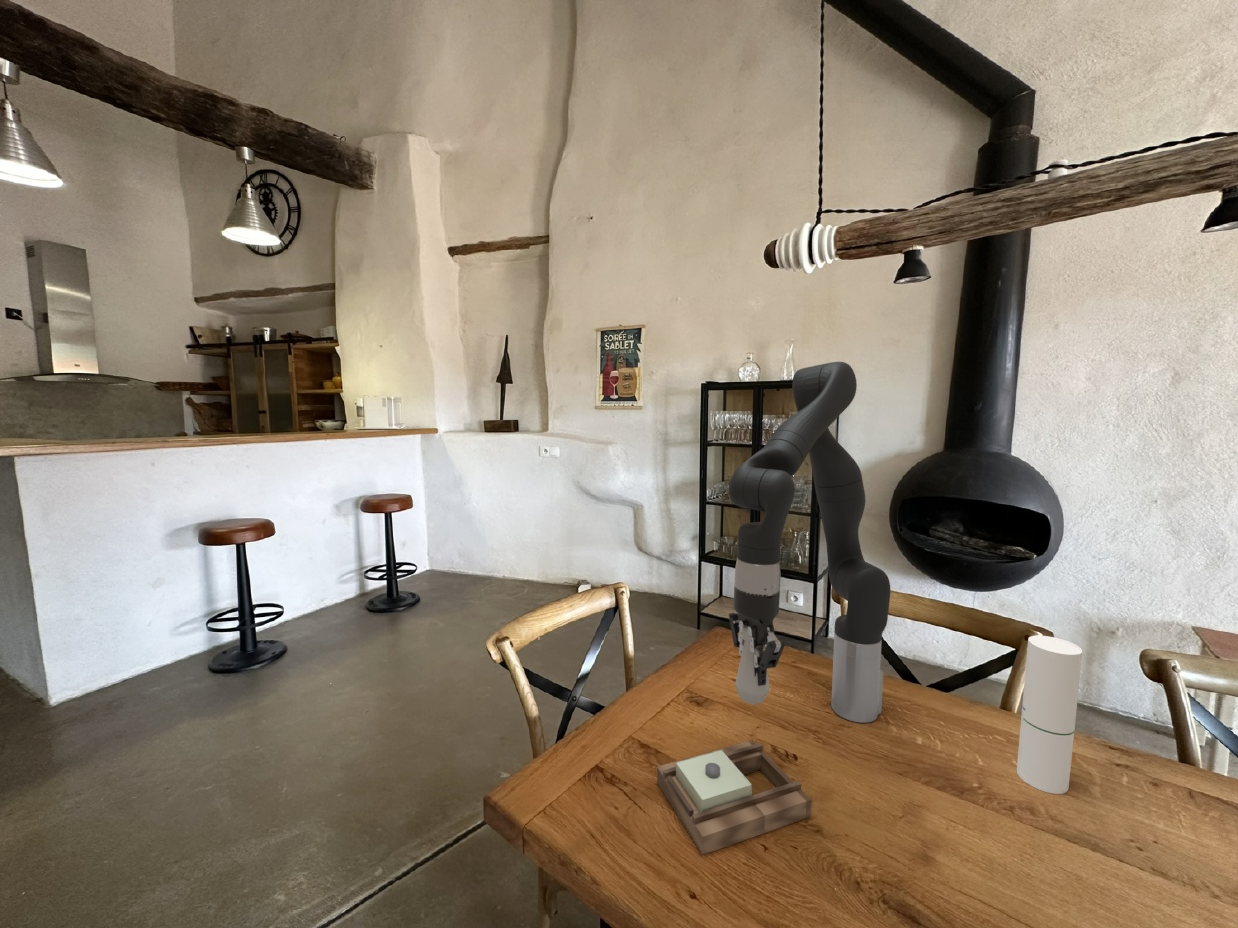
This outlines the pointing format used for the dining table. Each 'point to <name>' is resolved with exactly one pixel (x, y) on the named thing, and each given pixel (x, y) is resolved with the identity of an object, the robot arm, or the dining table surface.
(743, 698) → the salt shaker
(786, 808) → the board
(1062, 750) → the cylindrical container
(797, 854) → the dining table surface
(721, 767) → the cover
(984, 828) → the dining table surface
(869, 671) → the robot arm
